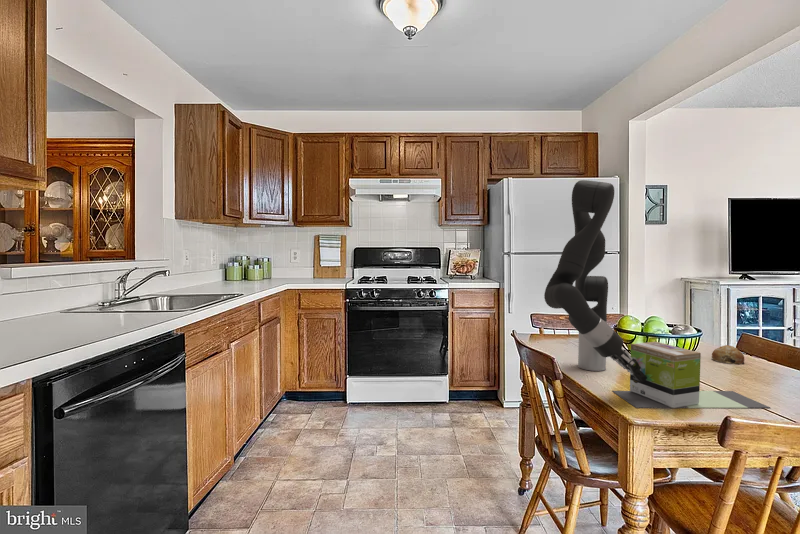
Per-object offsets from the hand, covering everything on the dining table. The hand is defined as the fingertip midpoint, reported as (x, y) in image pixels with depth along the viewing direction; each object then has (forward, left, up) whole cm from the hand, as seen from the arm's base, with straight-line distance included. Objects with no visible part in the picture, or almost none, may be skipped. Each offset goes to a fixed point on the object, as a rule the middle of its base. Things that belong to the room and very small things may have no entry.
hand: (643, 379), depth 129 cm
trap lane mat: (0, +12, -6) cm, 14 cm away
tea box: (0, +6, -6) cm, 8 cm away
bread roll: (-45, +56, -6) cm, 72 cm away
